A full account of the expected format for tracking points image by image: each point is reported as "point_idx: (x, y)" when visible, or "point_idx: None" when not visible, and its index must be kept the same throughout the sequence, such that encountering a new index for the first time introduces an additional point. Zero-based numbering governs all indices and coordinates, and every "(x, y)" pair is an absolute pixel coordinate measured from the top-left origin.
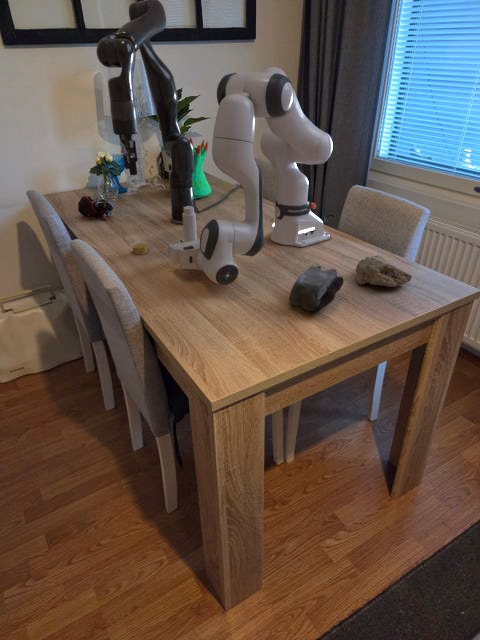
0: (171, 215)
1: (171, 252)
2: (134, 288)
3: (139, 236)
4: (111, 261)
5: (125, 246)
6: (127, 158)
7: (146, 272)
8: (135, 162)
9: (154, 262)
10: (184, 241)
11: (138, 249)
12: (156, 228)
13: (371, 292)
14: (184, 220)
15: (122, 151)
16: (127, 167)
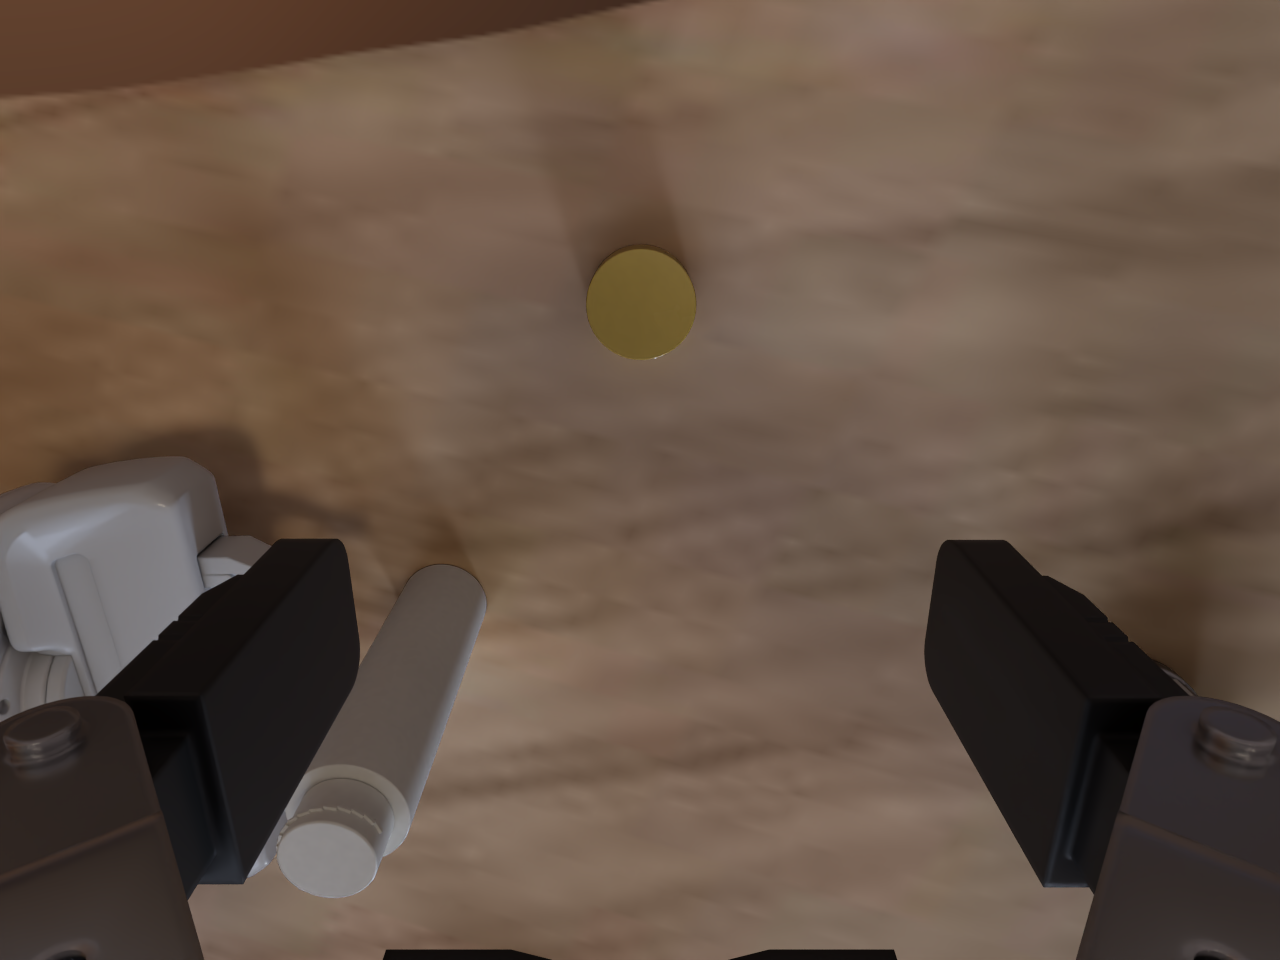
0: (1177, 681)
1: (97, 477)
2: (3, 117)
3: (963, 358)
4: (534, 29)
5: (803, 205)
6: (121, 787)
7: (253, 258)
8: (198, 876)
9: (411, 351)
10: (412, 620)
11: (591, 282)
12: (1062, 517)
13: None
14: (331, 735)
15: (1111, 855)
16: (947, 598)
